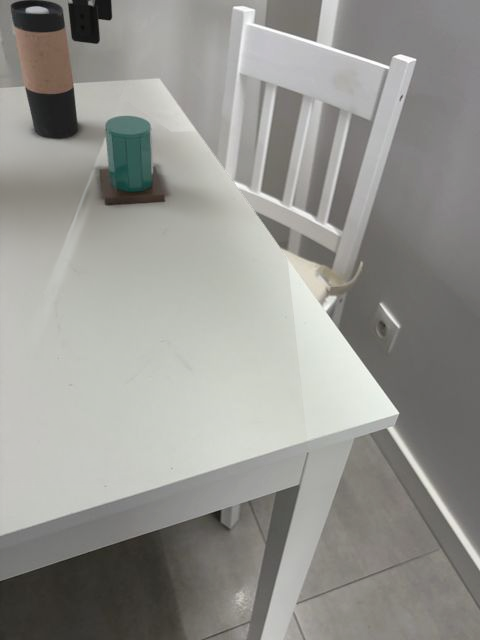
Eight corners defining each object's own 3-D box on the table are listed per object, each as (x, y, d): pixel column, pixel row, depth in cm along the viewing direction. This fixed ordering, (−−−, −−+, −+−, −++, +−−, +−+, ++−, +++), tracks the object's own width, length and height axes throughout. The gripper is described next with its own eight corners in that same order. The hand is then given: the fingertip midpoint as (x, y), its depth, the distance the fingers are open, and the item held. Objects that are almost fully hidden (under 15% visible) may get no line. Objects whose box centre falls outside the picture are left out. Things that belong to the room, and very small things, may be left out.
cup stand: (105, 205, 83) (99, 156, 77) (99, 175, 89) (94, 128, 83) (164, 201, 85) (163, 154, 80) (155, 173, 91) (153, 127, 86)
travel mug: (27, 131, 97) (0, 1, 83) (68, 123, 101) (49, -3, 86) (46, 149, 93) (22, 16, 79) (88, 140, 97) (72, 11, 83)
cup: (107, 190, 83) (101, 132, 77) (114, 169, 88) (109, 113, 82) (150, 193, 84) (147, 136, 78) (155, 172, 89) (153, 117, 82)
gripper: (59, -164, 63) (76, 7, 75) (18, -154, 51) (46, 48, 63) (126, -152, 64) (132, 14, 76) (102, -141, 51) (113, 56, 63)
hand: (93, 29), depth 69 cm, fingers open, 9 cm apart
